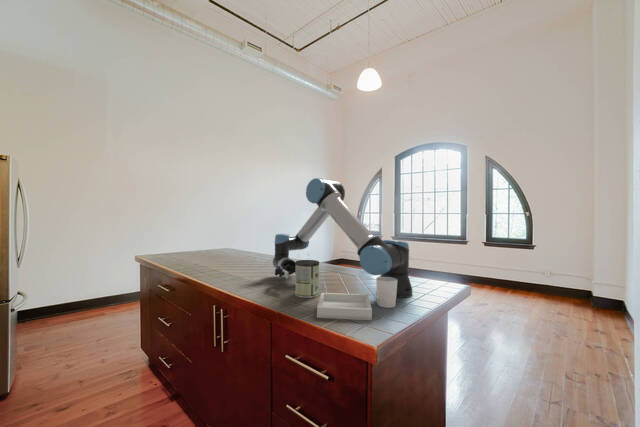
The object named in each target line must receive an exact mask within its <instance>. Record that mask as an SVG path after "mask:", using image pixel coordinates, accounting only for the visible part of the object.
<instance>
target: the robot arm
mask: <svg viewBox="0 0 640 427" xmlns="http://www.w3.org/2000/svg"><path fill="white" fill-rule="evenodd" d="M305 196H306V199H307V201H309V203H311V204H316V206H317V208H316V209H315V210H314V211H313V213H312V214H311V216H310V217H309V218H308V219H307V221H306V222H305V223H304V225H303V226H302V227H301V229H300V230H299V231H298V232H297V234H295V236H290V235H289V234H288V233H277V234H275V237H274V258H273V259H272V265H273V267H274V268H275V270H274V276H278V275H279V278H282V277H283V278H285V279H287V280H288V279H289V276H290V275H292V274H295V270H296V264H295V262H296V261H294V260H293V259H291V258H290V257H289V256H290V252H291V251H296V250H297V251H298V250H305V249H307V248H308V247H309V244H310V240H311V239H312V237H313V236H314V235H315V233H317V231H318V230H319V228H320V227H321V226H323V224H324V222H325V221H327V219H328V218H329V217H331V219H333V220H334V222H335V223H336V224H337V226H338V227H339V228H340V230H342V232H343V233H344V234H345V235H346V237H347V238H348V239H349V240H350V241H351V242H352V244H353V245H354V246H355V247H356V248H357V251H356V254H357V255H358V259H359V264H360V266H361V268H362V269H363V270H364V271H365V272H366V274H367V273H368V274H369V275H372V276H380V277H392V278H396V279H397V294H396V298H408V297H411V296H413V286H412V284H411V283H412V282H411V279H410V278H409V276H410V275H409V266H410V265H409V264H410V263H409V261H410V257H409V256H410V247H409V243H408V242H407V241H399V240H392V239H391V240H390V239H382V238H381V237H380V236H379V235H373V233H372V232H371V231H370V230H369V229H368V228H367V227H366V226H365V225H364V223H363V222H362V221H361V220H360V219H359V218H358V216H356V214H355V213H354V212H353V211H352V210H351V208H349V207H348V205H347V204H346V203H345V202H344V199H345V196H346V190H345V187H344V186H343V184H342V183H340V182H339V181H337V180H332V179H325V178H322V177H316V178H312V179H311V180H310V181H309V182H308V184H307V185H306V189H305Z"/></svg>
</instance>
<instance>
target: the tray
mask: <svg viewBox="0 0 640 427" xmlns="http://www.w3.org/2000/svg"><path fill="white" fill-rule="evenodd" d="M316 318H317V319H330V320H332V319H333V320H350V321H351V320H352V321H353V320H354V321H355V320H356V321H357V320H358V321H373V308H372V306H371V302H370V298H369V294H368V293H367V294H362V293H339V292H321V294H320V297H319V300H318V302H317V307H316Z"/></svg>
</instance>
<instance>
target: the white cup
mask: <svg viewBox="0 0 640 427" xmlns="http://www.w3.org/2000/svg"><path fill="white" fill-rule="evenodd" d="M375 279H376V298H377V299H376V300H377V306H379V307H381V308H386V309H389V308H390V309H391V308H392V309H393V308H395V307H396V305H397V297H396V294H397V279H396V278H392V277H381V276H378V277H376V278H375Z"/></svg>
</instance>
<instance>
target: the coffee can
mask: <svg viewBox="0 0 640 427" xmlns="http://www.w3.org/2000/svg"><path fill="white" fill-rule="evenodd" d="M294 262H295V264H296V270H295V273H294V274H295V277H294V278H295V280H294V282H295V284H294V285H295V289H294V291H295V293H294V295H295V297H297V298H301V299H302V298H303V299H312V298H316V297H318V296H319V295H320V292H319V291H320V260H315V259H302V260H301V259H299V260H296V261H294Z"/></svg>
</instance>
